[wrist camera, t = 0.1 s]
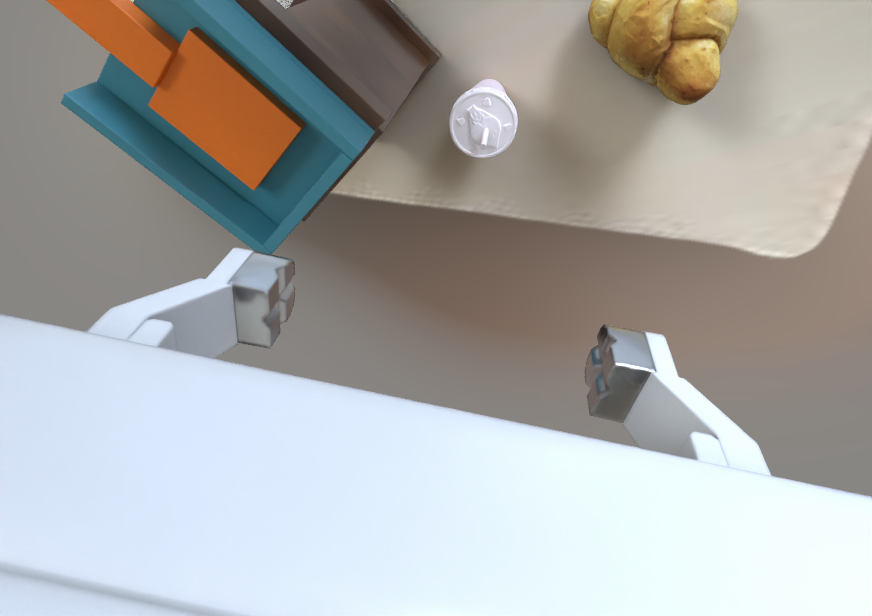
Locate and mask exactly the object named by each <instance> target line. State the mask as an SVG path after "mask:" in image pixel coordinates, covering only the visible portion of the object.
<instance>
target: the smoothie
mask: <svg viewBox="0 0 872 616" xmlns="http://www.w3.org/2000/svg"><path fill="white" fill-rule="evenodd" d="M517 123H518V118H517V112H516V109H515V107H514V105H513V103H512V101H511V100H510V99H509V98H508V97H507V95H506V92H505V90H504V88H503V86H502V85H501V84H500V83H499V82H498V81H496V80H493V79H485V80H482V81H480V82H479V83H477V84H476V85H475V86H474V87H473V88H472V89H471V90H469V91H467V92H465V93H463V94H462V95H461V96H460V97H459V98H458V99H457V100H456V102H455V104H454V105H453V107H452V110H451V113H450V117H449V131H450V135H451V138H452V140H453V142H454V143H455V145H456V146H457V147H458V148H459V149H460V150H461V151H462V152H463V153H465V154H467V155H469V156H471V157H474V158H481V159H484V158H491V157H494V156H497V155H499V154H500V153H502V152H503V151H505V150H506V149H507V148H508V147H509V145H510V144H511V143H512V141H513V139H514V137H515V134H516V130H517Z"/></svg>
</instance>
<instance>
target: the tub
mask: <svg viewBox="0 0 872 616" xmlns="http://www.w3.org/2000/svg"><path fill="white" fill-rule="evenodd" d="M133 3H134V4H135V5H136V6H137V7H138V8H139V9H141V10H142V11H143V12H144V13H145V14H146V15H147V16H149V17H150V18H151V19H152V20H153V21H154V22H156V23H157V24H158V25H159V26H160V27H161V28H162V29H164V30H165V31H166V32H167V33H168V34H169V35H171V36H172V37H173V38H174V39H175V40H176V41H177V42H179V43H180V44H181V43H182V41H183V40H184V38H185V36H186V34H187V32H188V30H189V29H192V28H195V27H198V28H199V29H200V30H201V31H203V32H204V33H205V34H206V35H207V36H208V37H209V38H210V39H212V40H213V41H214V42H215V43H216V44H217V45H218V46H219V47H221V48H222V49H223V50H224V51H225V52H226V53H227V54H228V55H229V56H231V57H232V58H233V59H234V60H235V61H236V62H237V63H238V64H240V65H241V66H242V67H243V68H244V69H245V70H246V71H247V72H249V73H250V74H251V75H252V76H253V77H254V78H255V79H256V80H258V81H259V82H260V83H261V84H262V85H263V86H264V87H265V88H267V89H268V90H269V91H270V92H271V93H272V94H273V95H274V96H276V97H277V98H278V99H279V100H280V101H281V102H282V103H283V104H285V105H286V106H287V107H288V108H289V109H290V110H291V111H292V112H294V113H295V114H296V115H297V116H298V117H299V118H300V119H301V120H303V121H304V122H305V123H306V126H305V127H304V128H303V129H302V131H301V132H300V133H299V135H298V136H297V137H296V139H295V140H294V141H293V142H292V144H291V145H290V146H289V148H288V149H287V150H286V152H285V153H284V154H283V155H282V157H281V158H280V159H279V161H278V162H277V163H276V165H275V166H274V167H273V168H272V170H271V171H270V172H269V174H268V175H267V176H266V178H265V179H264V180H263V181H262V183H261V184H260V185H259V186H258V187H257V188H256V189H255V190H254V191H253V190H252V189H251V188H250V187H248V186H247V185H246V184H245V183H243V182H242V181H241V180H240V179H238V178H237V177H236V176H235V175H234V174H232V173H231V172H230V171H229V170H227V169H226V168H225V167H224V166H222V165H221V164H220V163H219V162H217V161H216V160H215V159H214V158H212V157H211V156H210V155H209V154H207V153H206V152H205V151H204V150H203V149H201V148H200V147H199V146H198V145H196V144H195V143H194V142H193V141H191V140H190V139H189V138H188V137H186V136H185V135H184V134H183V133H181V132H180V131H179V130H178V129H176V128H175V127H174V126H173V125H171V124H170V123H169V122H168V121H167V120H165V119H164V118H163V117H162V116H160V115H159V114H158V113H157V112H155V111H154V110H153V109H152V108H150V107H149V106H148V104H149V103H150V101H151V99H152V97H153V95H154V93H155V92H156V90H157V88H158V86H157V87H154V88H153V87H151V86H150V85H149V84H148V83H147V82H145V81H144V80H143V79H142V78H140V77H139V76H138V75H137V74H136V73H134V72H133V71H132V70H131V69H129V68H128V67H127V66H126V65H125V64H123V63H122V62H121V61H120V60H118V59H117V58H116V57H115V56H114V55H112V54H111V53H110V54H109V56H108V59H107V61H106V63H105V65H104V67H103V70H102V72H101V74H100V76H99V78H98V80H97V82H94V83H91V84H88V85H86V86H83V87H81V88H78V89H76V90H73V91H70V92H68V93H66V94H64V97H63V99H62V102H61V103H62V104H63V105H64V106H65V107H67V108H68V109H69V110H71V111H72V112H73V113H75V114H76V115H77V116H78V117H80V118H81V119H82V120H84V121H85V122H86V123H88V124H89V125H90V126H92V127H93V128H94V129H96V130H97V131H98V132H100V133H101V134H102V135H104V136H105V137H106V138H108V139H109V140H110V141H111V142H113V143H114V144H115V145H117V146H118V147H119V148H121V149H122V150H123V151H124V152H126V153H127V154H128V155H130V156H131V157H132V158H134V159H135V160H136V161H138V162H139V163H140V164H141V165H143V166H144V167H145V168H147V169H148V170H149V171H151V172H152V173H154V174H155V175H156V176H157V177H158V178H160V179H161V180H162V181H164V182H165V183H166V184H168V185H169V186H170V187H172V188H173V189H174V190H176V191H177V192H178V193H179V194H181V195H182V196H183V197H185V198H186V199H187V200H189V201H190V202H191V203H193V204H194V205H195V206H197V207H198V208H199V209H200V210H202V211H203V212H204V213H206V214H207V215H208V216H210V217H211V218H212V219H214V220H215V221H216V222H218V223H219V224H220V225H221V226H223V227H224V228H225V229H227V230H228V231H229V232H231V233H232V234H233V235H235V236H236V237H237V238H238V239H240V240H241V241H242V242H244V243H245V244H246V245H248V246H249V247H250V248H252V249H253V250H254V251H257V252H261V253H265V254H270V255H271V254H272V253H273V252H274V251H275V250H276V249H277V247H278V246H279V245H280V244H281V243H282V242H283V241H284V239H285V238H286V237H287V236H288V235H289V234H290V233H291V231H292V230H293V229H294V228H295V227H296V226H297V225H298V223H299V222H300V221H301V220H302V219H303V218H304V217H305V215H306V214H307V213H308V212H309V211H310V210H311V209H312V208H313V206H314V205H315V204H316V203H317V202H318V201H319V200H320V198H321V197H322V196H323V195H324V194H325V193H326V192H327V190H328V189H329V188H330V187H331V186H332V185H333V184H334V182H335V181H336V180H337V179H338V178H339V177H340V176H341V174H342V173H343V172H344V171H345V170H346V169H347V168H348V166H349V165H350V164H351V163H352V162H353V160H355V158H356V157H357V156H358V155H359V154H360V153H361V151H362V150H363V148H364V147H365V146H366V144H367V143H368V141H369V140H370V138H371V137H372V136H373V134H374V133H375V131H374V130H373V129H372V128H371V127H370V126H369V125H368V124H367V123H366V122H365V121H363V120H362V119H361V118H360V117H359V116H358V115H357V114H356V113H355V112H354V111H353V110H352V109H351V108H349V107H348V106H347V105H346V104H345V103H344V102H343V101H342V100H341V99H340V98H339V97H338V96H337V95H336V94H334V93H333V92H332V91H331V90H330V89H329V88H328V87H327V86H326V85H325V84H324V83H323V82H322V81H321V80H319V79H318V78H317V77H316V76H315V75H314V74H313V73H312V72H311V71H310V70H309V69H308V68H307V67H306V66H304V65H303V64H302V63H301V62H300V61H299V60H298V59H297V58H296V57H295V56H294V55H293V54H292V53H291V52H289V51H288V50H287V49H286V48H285V47H284V46H283V45H282V44H281V43H280V42H279V41H278V40H277V39H275V38H274V37H273V36H272V35H271V34H270V33H269V32H268V31H267V30H266V29H265V28H264V27H263V26H262V25H260V24H259V23H258V22H257V21H256V20H255V19H254V18H253V17H252V16H251V15H250V14H249V13H248V12H247V11H245V10H244V9H243V8H242V7H241V6H240V5H239V4H238V3H237V2H236V1H235V0H134V2H133Z"/></svg>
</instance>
